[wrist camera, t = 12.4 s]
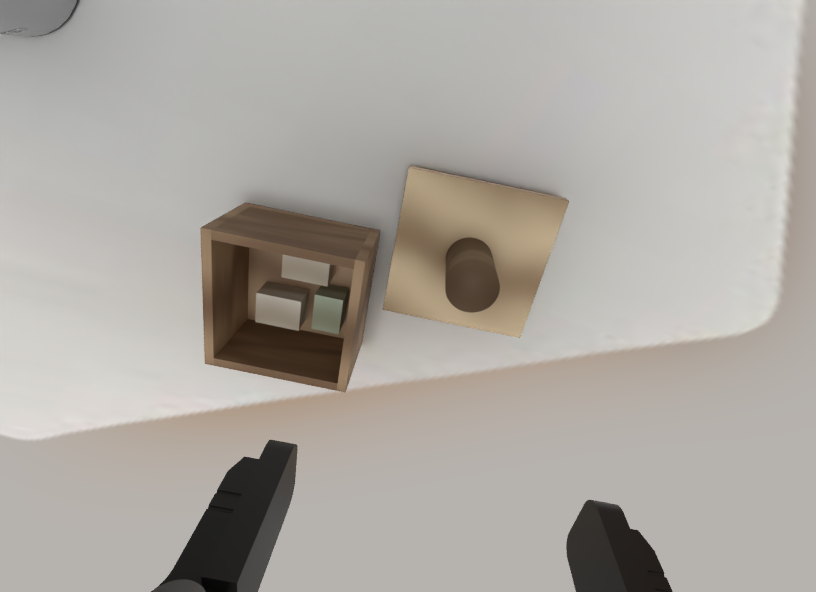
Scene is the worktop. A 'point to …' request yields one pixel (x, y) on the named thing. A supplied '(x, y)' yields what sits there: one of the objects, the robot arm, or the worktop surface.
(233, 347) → the tea box
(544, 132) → the worktop surface
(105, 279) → the worktop surface
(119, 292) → the worktop surface
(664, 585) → the robot arm
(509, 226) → the lid
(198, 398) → the worktop surface
